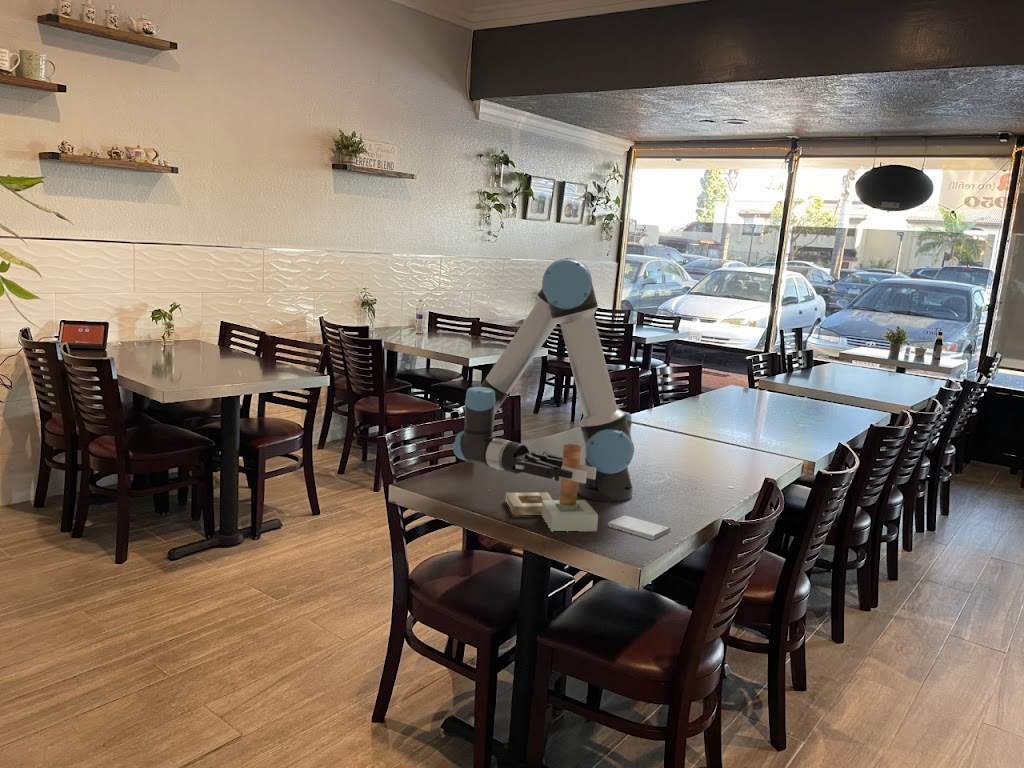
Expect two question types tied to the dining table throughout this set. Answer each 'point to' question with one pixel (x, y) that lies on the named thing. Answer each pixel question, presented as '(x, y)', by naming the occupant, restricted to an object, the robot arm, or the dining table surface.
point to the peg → (567, 486)
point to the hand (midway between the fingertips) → (590, 475)
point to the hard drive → (639, 527)
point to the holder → (526, 502)
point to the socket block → (569, 516)
